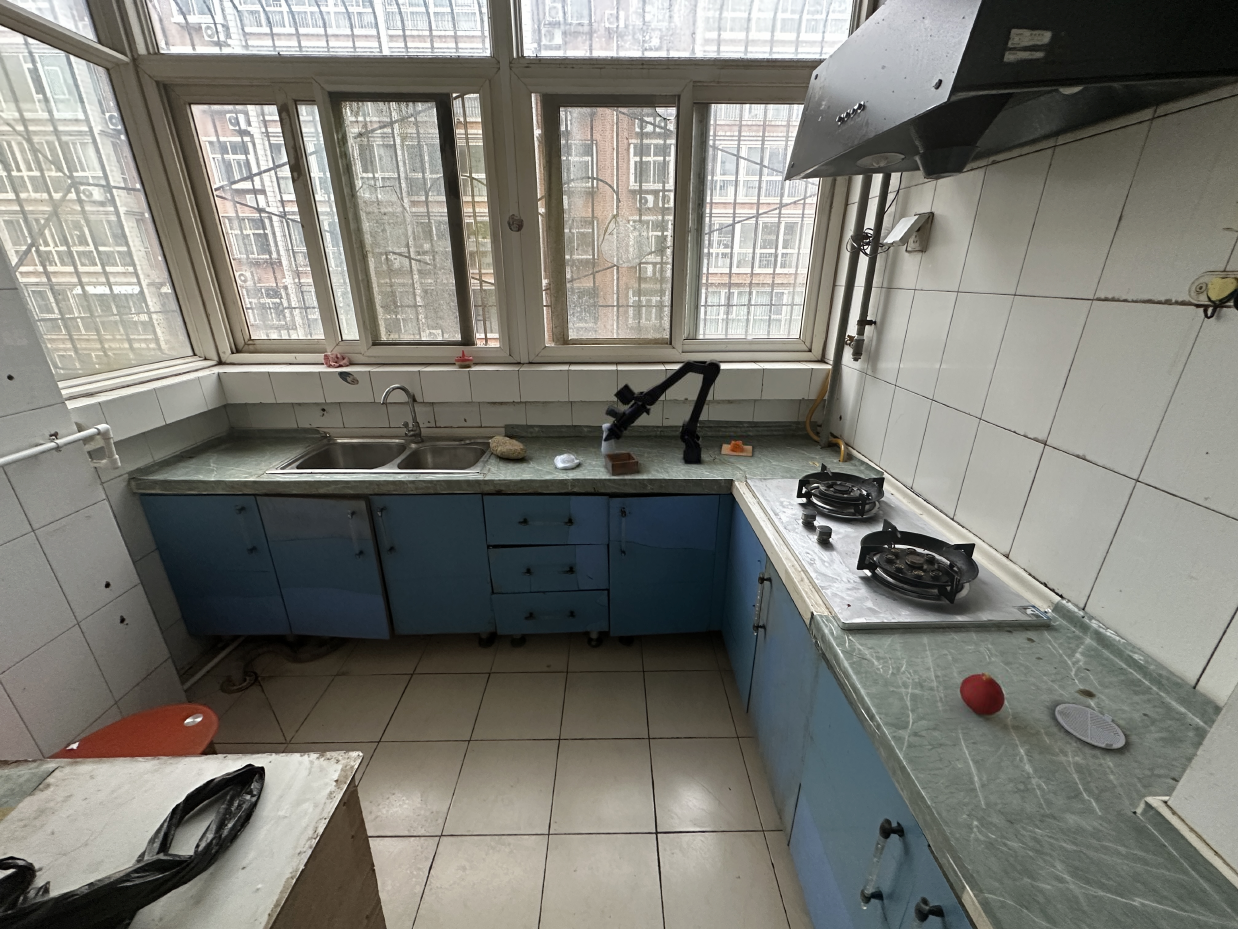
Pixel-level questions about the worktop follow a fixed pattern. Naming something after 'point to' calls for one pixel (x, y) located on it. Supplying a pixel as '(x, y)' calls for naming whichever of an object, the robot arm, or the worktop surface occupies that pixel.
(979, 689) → the onion
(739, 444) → the board with orange mound
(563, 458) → the white lumpy mound
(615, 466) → the box
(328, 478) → the worktop surface
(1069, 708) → the drain cover
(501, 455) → the tan oval lump
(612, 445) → the salt shaker
